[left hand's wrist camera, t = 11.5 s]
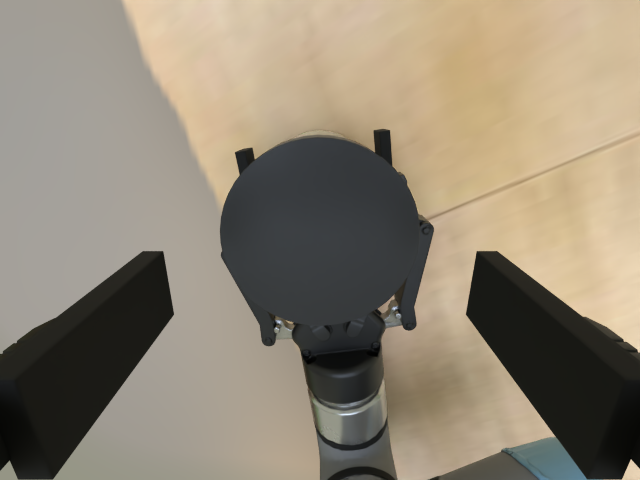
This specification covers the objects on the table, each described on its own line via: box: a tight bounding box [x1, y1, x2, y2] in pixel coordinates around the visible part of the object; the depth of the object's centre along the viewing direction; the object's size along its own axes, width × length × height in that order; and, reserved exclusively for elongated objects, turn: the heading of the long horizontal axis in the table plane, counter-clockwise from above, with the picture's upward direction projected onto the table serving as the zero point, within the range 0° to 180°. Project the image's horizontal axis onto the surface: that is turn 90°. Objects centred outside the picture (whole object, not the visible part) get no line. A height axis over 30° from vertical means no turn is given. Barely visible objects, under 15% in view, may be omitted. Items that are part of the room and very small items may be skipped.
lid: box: [220, 135, 420, 326], centre depth 19 cm, size 10×10×2 cm
